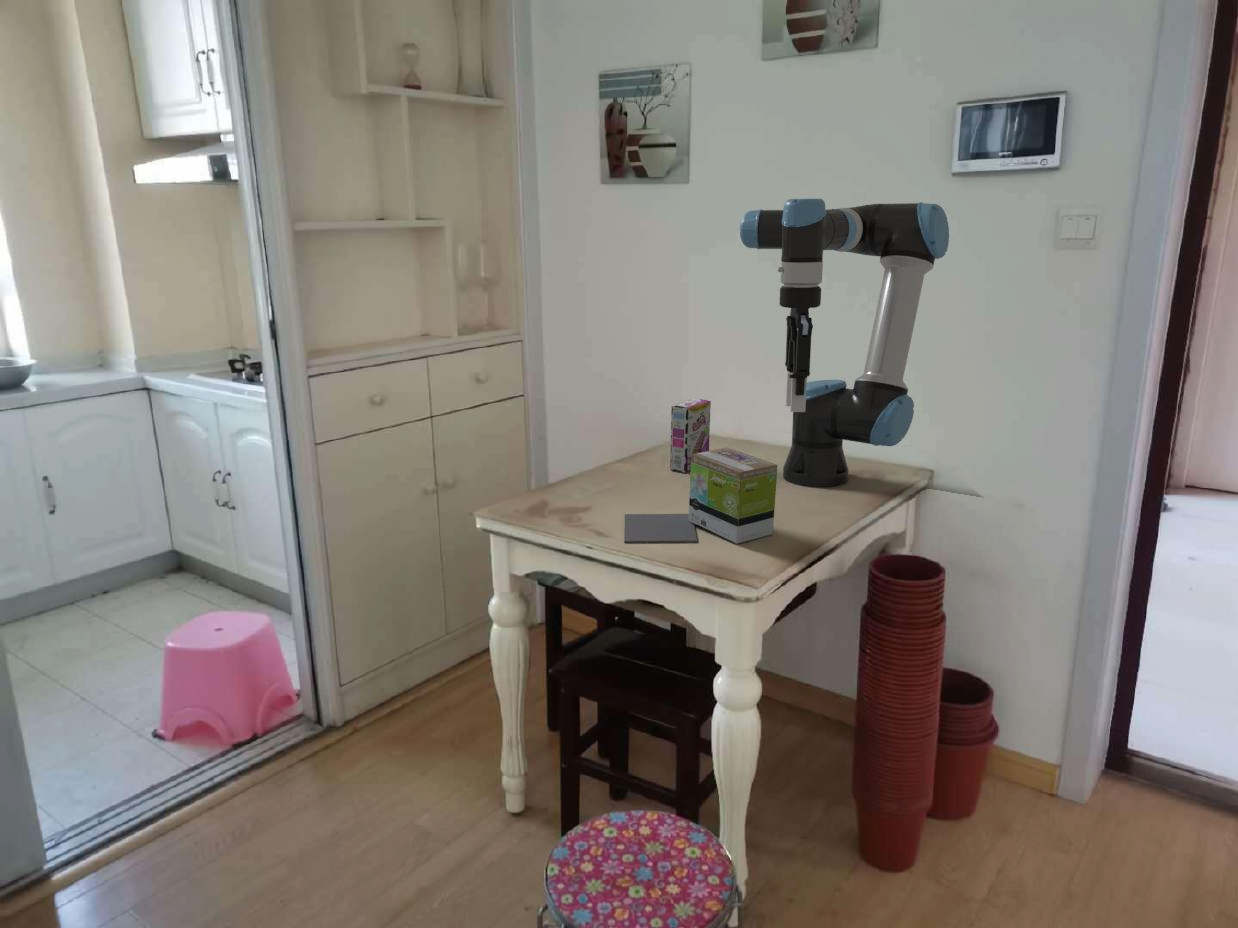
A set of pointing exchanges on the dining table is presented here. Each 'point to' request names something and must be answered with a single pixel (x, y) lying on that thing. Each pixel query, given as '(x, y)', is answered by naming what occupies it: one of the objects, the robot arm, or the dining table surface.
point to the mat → (659, 528)
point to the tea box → (732, 494)
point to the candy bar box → (689, 432)
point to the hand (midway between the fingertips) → (795, 408)
